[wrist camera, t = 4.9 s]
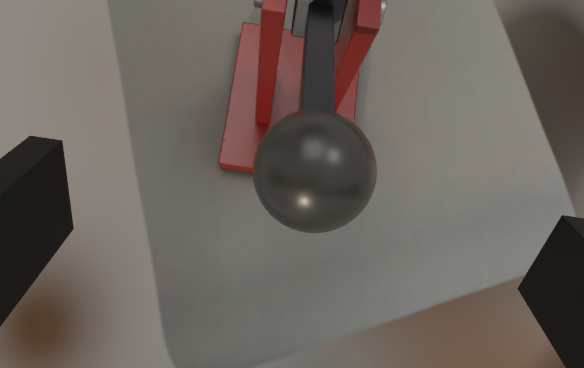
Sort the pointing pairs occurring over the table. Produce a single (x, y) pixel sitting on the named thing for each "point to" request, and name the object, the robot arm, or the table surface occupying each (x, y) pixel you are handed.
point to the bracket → (288, 75)
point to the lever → (315, 139)
